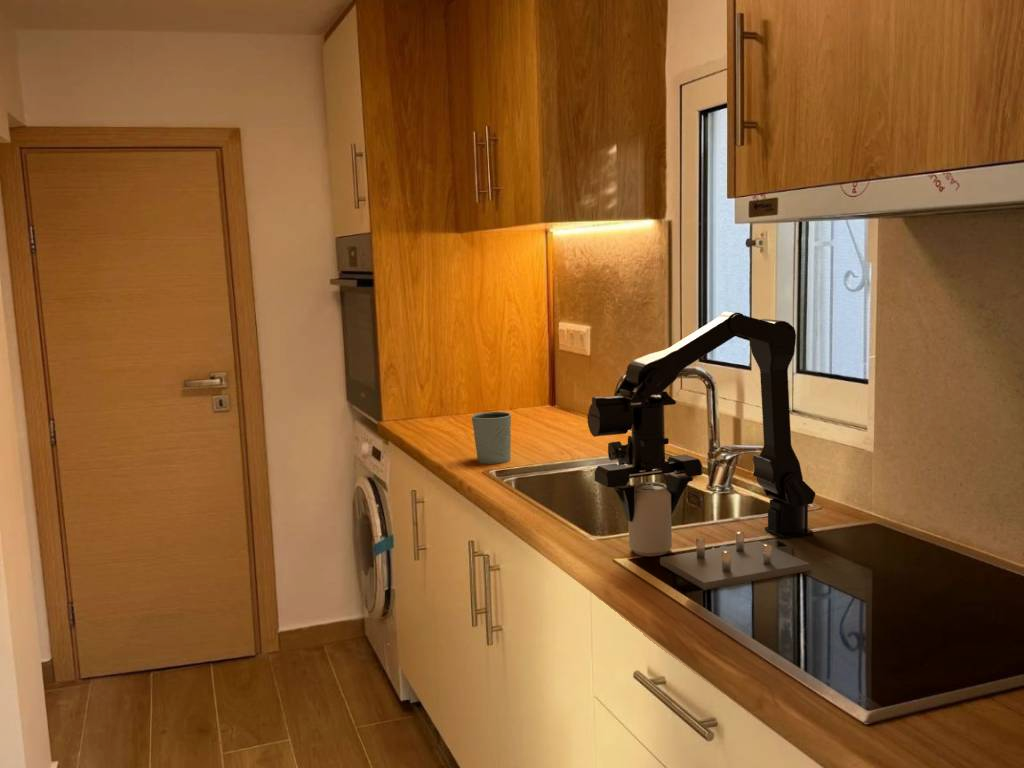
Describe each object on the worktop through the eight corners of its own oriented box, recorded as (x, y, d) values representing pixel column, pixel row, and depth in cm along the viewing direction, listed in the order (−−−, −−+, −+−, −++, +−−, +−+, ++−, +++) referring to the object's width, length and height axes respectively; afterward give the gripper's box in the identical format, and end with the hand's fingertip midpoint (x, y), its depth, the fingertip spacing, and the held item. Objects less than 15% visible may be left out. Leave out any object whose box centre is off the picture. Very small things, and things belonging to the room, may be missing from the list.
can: (627, 557, 170) (626, 490, 169) (630, 544, 178) (629, 480, 176) (671, 558, 169) (670, 490, 167) (672, 545, 176) (671, 480, 175)
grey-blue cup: (516, 462, 249) (514, 416, 247) (477, 466, 247) (475, 419, 245) (508, 454, 258) (506, 410, 257) (470, 458, 256) (468, 413, 255)
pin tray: (759, 547, 173) (759, 523, 173) (809, 570, 160) (809, 544, 160) (660, 564, 166) (659, 539, 166) (704, 590, 153) (704, 563, 153)
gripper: (671, 419, 181) (672, 501, 183) (579, 429, 175) (582, 514, 177) (703, 428, 171) (704, 515, 173) (607, 440, 164) (610, 529, 166)
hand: (649, 518), depth 173 cm, fingers closed on can, 7 cm apart
